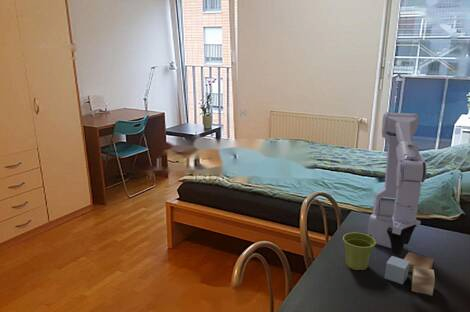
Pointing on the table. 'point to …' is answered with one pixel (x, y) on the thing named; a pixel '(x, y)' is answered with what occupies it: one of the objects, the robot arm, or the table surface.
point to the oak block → (418, 261)
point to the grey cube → (397, 269)
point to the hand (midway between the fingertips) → (400, 248)
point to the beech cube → (423, 280)
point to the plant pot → (358, 250)
